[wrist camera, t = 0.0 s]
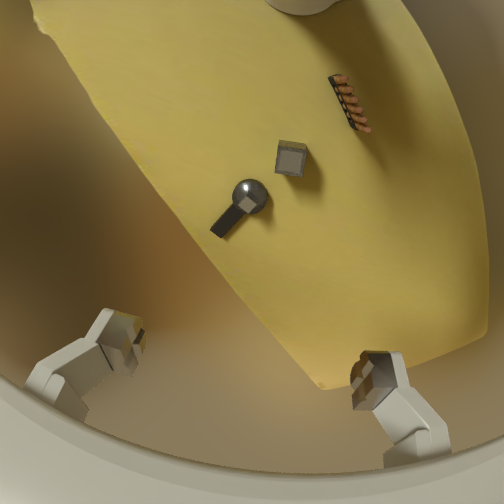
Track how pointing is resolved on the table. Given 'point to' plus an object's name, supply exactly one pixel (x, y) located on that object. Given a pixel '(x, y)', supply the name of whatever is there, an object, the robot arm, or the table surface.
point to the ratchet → (241, 205)
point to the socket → (290, 158)
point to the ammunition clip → (349, 103)
